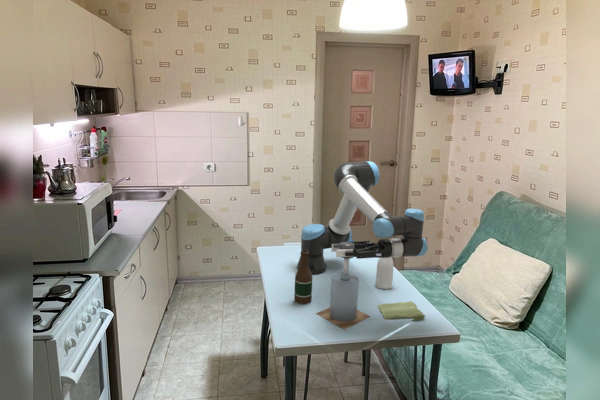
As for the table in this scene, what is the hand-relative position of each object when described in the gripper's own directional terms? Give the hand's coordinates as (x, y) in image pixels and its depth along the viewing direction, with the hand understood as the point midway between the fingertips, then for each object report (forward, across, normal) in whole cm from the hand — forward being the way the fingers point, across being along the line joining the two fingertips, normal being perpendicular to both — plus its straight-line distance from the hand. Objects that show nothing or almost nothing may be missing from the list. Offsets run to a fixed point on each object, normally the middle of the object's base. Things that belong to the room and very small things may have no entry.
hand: (334, 250), depth 166 cm
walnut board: (-5, 0, -29) cm, 30 cm away
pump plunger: (-4, 0, -9) cm, 10 cm away
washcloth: (-30, -1, -30) cm, 43 cm away
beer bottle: (+8, +15, -30) cm, 34 cm away
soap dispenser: (-5, 0, -28) cm, 29 cm away
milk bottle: (-34, +26, -30) cm, 52 cm away
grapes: (-29, +76, -30) cm, 87 cm away
